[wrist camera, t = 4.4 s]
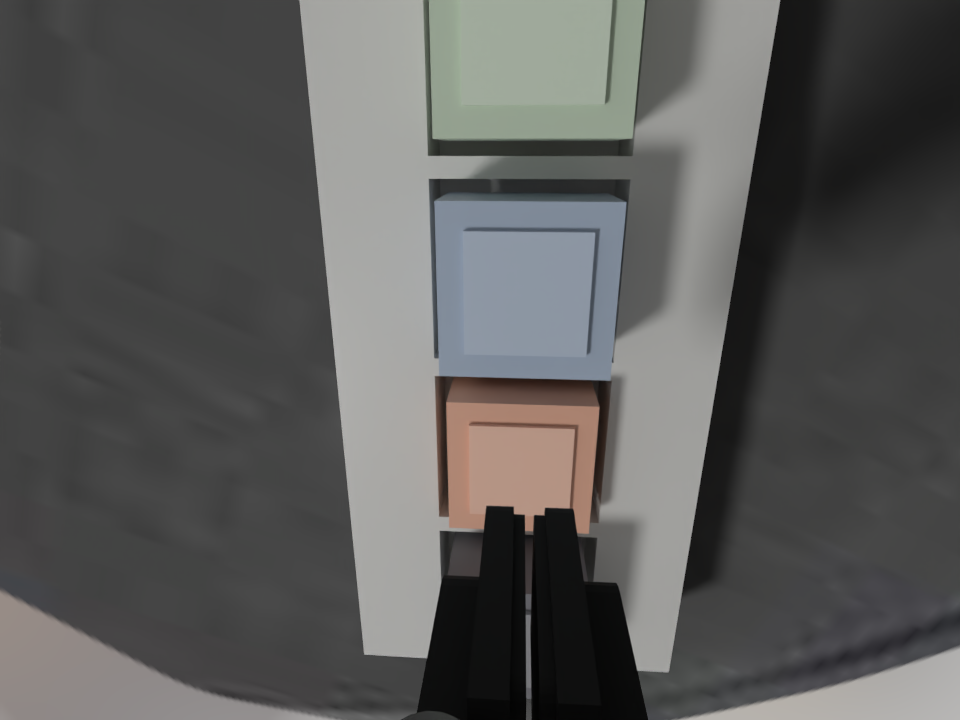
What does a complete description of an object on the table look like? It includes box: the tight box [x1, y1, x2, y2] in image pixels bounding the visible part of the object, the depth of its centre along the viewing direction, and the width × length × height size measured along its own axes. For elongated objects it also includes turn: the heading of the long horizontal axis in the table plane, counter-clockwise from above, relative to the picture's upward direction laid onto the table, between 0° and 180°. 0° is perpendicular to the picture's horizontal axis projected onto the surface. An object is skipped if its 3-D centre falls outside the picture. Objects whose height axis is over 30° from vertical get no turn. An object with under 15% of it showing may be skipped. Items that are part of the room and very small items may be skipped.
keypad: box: [300, 0, 780, 672], centre depth 19 cm, size 12×25×3 cm, turn 0°
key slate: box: [434, 192, 627, 381], centre depth 15 cm, size 5×5×3 cm
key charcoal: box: [448, 531, 588, 699], centre depth 20 cm, size 5×5×3 cm
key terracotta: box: [446, 377, 600, 534], centre depth 19 cm, size 5×5×3 cm
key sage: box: [429, 0, 645, 141], centre depth 13 cm, size 5×5×3 cm
